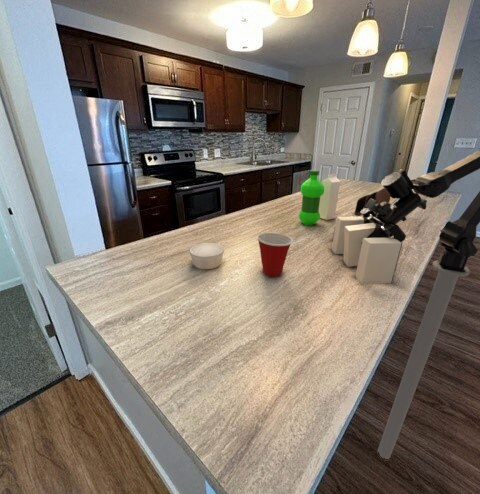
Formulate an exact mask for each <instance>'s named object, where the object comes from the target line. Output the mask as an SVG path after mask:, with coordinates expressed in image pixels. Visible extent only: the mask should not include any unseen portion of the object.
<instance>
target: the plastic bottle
mask: <svg viewBox="0 0 480 494" xmlns="http://www.w3.org/2000/svg"><path fill="white" fill-rule="evenodd" d="M308 175H309V178H308V179H307V180H305V181H304V182H303V183H301V186H300V193H301V195H302V199H301V209H300V211H299V212H298V218H299V221H300V222H301V223H302V224H303V225H305V226H314V225H315V224H316V223H318V222H319V221H320V219H321V218H320V214H319V204H320V196H321V195H323V193H324V185H323V184H322V181H320V179H318V176H319V175H320V170H317V169H310V170H309V171H308Z"/></svg>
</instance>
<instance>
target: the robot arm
mask: <svg viewBox="0 0 480 494" xmlns="http://www.w3.org/2000/svg"><path fill="white" fill-rule="evenodd" d="M478 170H480V149H478V150H477V151H476V152H473V153H471V154H469V155H468V156H465V157H464V158H462V159H459V160H458V161H456V162H455V163H452V164H451V165H449V166H447V167H445V168H443V169H440V170H435V171H430V172H428V173H425V174H422V175H419V176H417V177H416V178H414V179H411V178H410V177H409V175H408V173H407V171H406V170H405V169H399V170H397V171H395V172H392V173H390V174H388V175H386V176H385V177H384V178H383V179H382V180H381V182H380V183H381V186H382V187H383V189H384V188H385V190H386V191H387V192H388V194H389V195H390V196H391V197H390V198H391V199H395V200H394V201H392V202H391V203H390V202H389V203H387V202H385V201H384V202H382V203H379V202H377V201H375V200H373V199H371V198H370V200H369V201H368V203H367V204H366V206H365V208H364V209H363V210H361V211H360V213H361V215H362V216H363V219H364V224H367V223H374V224H376V226H375V230H374V231H373V232H372V233H371V234H370V235H369V236H368V237H367V238H393V237H394V238H395V239H397V240H399V241H400V242H402V243H403V242H404V241H405V240H406V237H407V235H406V233H405V232H404V230H403V229H402V228H401V227H400V225H398V223H400V222H406V221H407V220H408V219H407V216H408V215H410V214H411V213H412V212H413V211H415V210H417V209H418V208H419V209H421V210H426V209H427V203H428V200H427V199H424V198H422V197H421V196H423V197H427V198H430V199H435V198H437V197H439V196H441V195H442V194H444V193H445V192H446V191H448V190H449V189H450V187H451V186H452V185H453V184H454V183H455V182H457V181H459V180H461V179H463V178H465V177H467V176H468V175H470V174H472V173H475V172H476V171H478ZM368 208H369V209H368ZM379 222H380V223H379ZM479 224H480V191H479V192H477V194H476V196H475V197H474V198H473V200H472V201H471V202H470V203H469V205H468V206H467V207H466V209H465V210H464V212H463V213H462V214H461V215H460V217H459V218H458V219H456V220H454V221H451V220H448V221H446V223H445V225H444V226H443V228H441V229H440V230H439V232H440V233H439V235H438V237H439V241H440V247H443V250H442V251H440V253H439V256H438V258H437V260H438V263H439V264H440V266H441V268H442V269H446V270H452V271H458V272H466V271H465V269H464V268H465V267H466V265H467V263H468V260H469V258H470V257H474V256H475V255H477V253H478V251H479V250H478V248H477V247H476V245H475V244H474V240H475V239H476V237H477V227H478V226H479ZM361 244H362V243H361Z"/></svg>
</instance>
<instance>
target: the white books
mask: <svg viewBox="0 0 480 494" xmlns="http://www.w3.org/2000/svg"><path fill="white" fill-rule="evenodd" d="M335 218H336V219H335V223H334V224H335V225H334V227H335V231H334V230H333V233H334V237H333V236H332V240H333V241H332V245H331V251H332V252H333V253H334V254H335V255H344V230H345V226H351V225H359V224H364V219H363V217H358V216H336V217H335ZM402 247H403V242H400V241H399V240H397V239H395V238H394V237H393V236H392V237H391V238H363V242H362V247H361V252H360V257H359V262H358V266H356V272H355V278H356V279H357V281H358V282H359V283H360V284H361V285H373V284H393V281H394V277H395V273H396V271H397V266H398V261H399V258H400V255H401V252H402Z"/></svg>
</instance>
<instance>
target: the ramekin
mask: <svg viewBox="0 0 480 494" xmlns="http://www.w3.org/2000/svg"><path fill="white" fill-rule="evenodd" d="M224 253H225V250H224V246H223V245H221V244H219V243H215V242H204V243H199V244H198V243H197V244H196V245H193V246H192V247H190V248H189V255H190V258H191V261H192V264H193V266H194V267H195V268H197V269H199V270H200V269H201V270H212V269H215V268H217V267H219V266H220V265H221V264H222V263H223V256H224Z"/></svg>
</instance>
